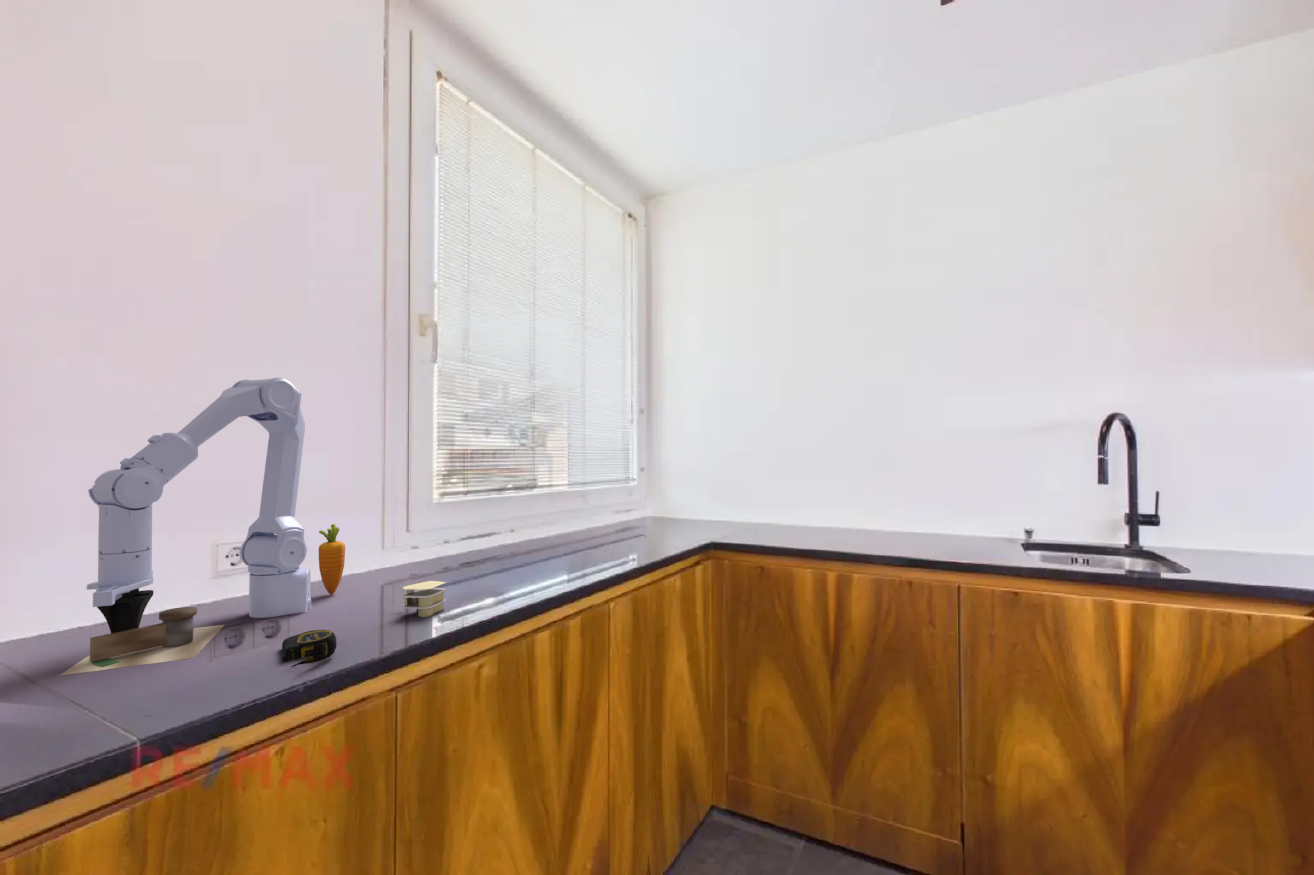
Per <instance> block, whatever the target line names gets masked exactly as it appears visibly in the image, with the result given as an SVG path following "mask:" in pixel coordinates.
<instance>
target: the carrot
mask: <svg viewBox="0 0 1314 875" xmlns="http://www.w3.org/2000/svg"><path fill="white" fill-rule="evenodd" d="M326 530H327V532H326V531H324V530H322V529H320V530H319V531H318V533H319V534H321V535H322V536H324V537H325V539H326V540H327V541H326V542H322V543H321V544H320V545H319V546H318V567H319V568H318V569H319V574H320V578H321V581H322V584H323V586H324V588H325V590H326V592H327V593H328V594H329V595H330V596H332V595H334V593H335V592H336V590H337V589H338V587H339V585H340V583H341V580H342V576H343V573H344V569H345V561H346V560H345V558H346V545H345V543H344V542H342V541H339V540H337V536H338V534H339V532H340V528H339V527H337V525H336V524H335V523H333V524H332V523H331V525H330V527H328V528H327V529H326Z"/></svg>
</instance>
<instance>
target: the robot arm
mask: <svg viewBox="0 0 1314 875" xmlns="http://www.w3.org/2000/svg"><path fill="white" fill-rule="evenodd" d="M301 400H302V393H301V392H300V391H299V389H298V388H297V387H296V386H295V385H294V384H293V383H292V382H291V381H290V380H289V379H286V378H283V377H272V378H265V379H262V378H261V379H242V380H237V382H235V383H234V384H233V385H232V386H231V387H228V388H227V389H224V390H223V391H222V393H221V394H220V396H219V397H217V399H215V400H214V401H213V402H212V403H211V404H209V405H208V406H207V407H206V408H205V409H204V410H203V411H201V412H200V413H199V414H198V415H197V416H196V417H194V418H192V420H191V421H190V422H189V423H188V424H186V425H185V426H184V427H183V428H181V430H179V431H178V432H164V433H162V434H154V435H152V436H150V437H149V438H148V439H146V440H147V442H148V444H147V445H146V446H144V447H143V448H142V449H141V450H139V451H138V452H137V453H135V454H134V455H133V456H131V457H130V458H124V459H122V460H120V462H119V464H120V468H119V469H113V470H108V471H105V472H103V473H101V474H100V475H99V476H98V477H96V479H95V480H94V482H93V483H94V485H92V487H91V488H89V489H88V495H89V497H90V499H91V501H92V502H93V503H94V504H96V506H97V507H98V533H97V534H98V536H97V537H98V538H97V540H98V546H97V548H98V549H97V551H98V552H97V553H98V554H97V562H98V563H97V581H93V582H90V583H89V584H86V590H88V591H89V590H95V591H94V592H93V593H92V608H97V609H98V610H99V612H101V614H102V615H103V617H104V618H105V619H104V620H106V622H107V625H108V627H109V631H110V634H111V633H116V632H121V631H125V630H130V629H135V628H140V625H141V622H142V617H143V615H144V612H145V610H146V608H147V606H148V604H149V603H150V600H152V599H151V598H152V597H153V596H154V590H153V589H146V590H140V588H143V587H147V586H151V585H152V584H154V574H153V572H154V570H153V569H152V568H153V567H152V566H153V564H152V562H153V556H152V555H153V503H155V502H158V501H159V500H160V499H161V497H162V495H163V493H164V492H163V491H164V487H165V485H167V484H168V483H169V482H170V481H171V480H172V479H174V478H175V477H176V476H177V475H179V474H180V473H181V472H182V471H183V470H185V469H186V468H187V467H188V466H189V465H191V464H192V463H193V462H194V461H195V460H197V458H199V447H200V446H202V444H204V443H206V441H208V440H209V439H211V438H212V437H213V436H215V435H216V434H217V433H219V432H220V431H222V430H223V429H224V428H226V427H227V426H228V425H230V424H231V423H232V422H234V421H235V420H237V419H239V418H241V417H248V419H252V420H253V421H255V422H257V423H258V424H260V426H262V427H263V429H264V430H266V431H267V432H268V442H267V450H266V458H265V465H264V474H263V481H262V490H261V497H260V498H261V499H260V506H259V515H258V518H257V519H256V520H255V521H254V522H253V523H252V524H251V525H250V526H249V527H248V529H247V530H248V531H247V535H246V537H245V540H244V541H243V543H242V544H241V546H240V550H239V556H240V559H241V561H242V563H243V564H244V565H246V566H247V572H249V576H248V577H249V578H248V579H249V580H248V581H249V584H248V586H249V587H248V616H249V617H250V618H255V619H258V618H259V619H262V618H264V619H265V618H274V617H279V616H286V615H293V614H295V615H296V614H302V613H307V611H308V610H311V607H312V598H311V591H312V590H311V589H312V588H311V582H312V580H311V578H312V577H311V569H310V568H300V565H302V563H303V562H304V560H305V558H306V556H307V551H308V550H307V549H308V548H307V544H306V541H305V528H304V527H303V526H302V525H301V524H300V522H298V520H297V519H296V518H295V517H296V508H297V498H298V490H299V483H300V482H299V481H300V474H301V464H302V456H303V447H304V439H305V438H304V437H305V431H306V423H305V420H304V416H303V413H302V409H301Z"/></svg>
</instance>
